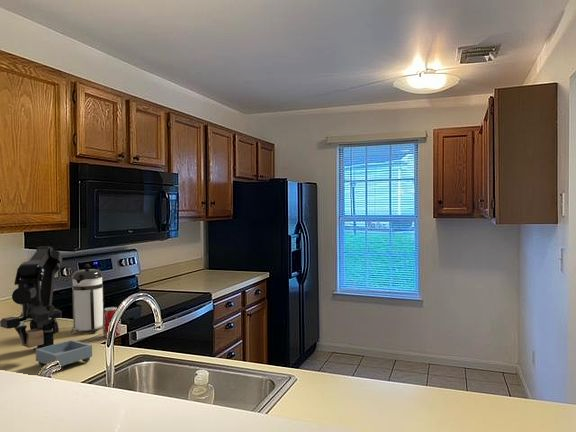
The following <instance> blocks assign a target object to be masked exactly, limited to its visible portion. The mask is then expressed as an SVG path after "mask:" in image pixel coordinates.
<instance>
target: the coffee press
mask: <svg viewBox="0 0 576 432" xmlns="http://www.w3.org/2000/svg"><path fill="white" fill-rule="evenodd" d="M83 267H84V269H79V270H76V271H75V272H73V274H72V276H71V280H72V285H71V286H72V287H71V289H72V323H73V325H72V329H71V330H70V333H71V334H72V335H75V334H76V333H77V332H78V331H80V332H84V331H85V332H86V331H90V334H91V335H96V330H97V329H100V328H103V312H104V309H105V293H104V292H105V290H104V289H105V288H104V284H103V283H104V282H103V277H104V274H102V271H101V270H100V269H96V268H90V267H91V265H90V264H89V263H85V265H84V266H83ZM74 329H75V330H74ZM73 331H74V332H73Z"/></svg>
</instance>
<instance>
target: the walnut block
mask: <svg viewBox="0 0 576 432" xmlns="http://www.w3.org/2000/svg"><path fill="white" fill-rule="evenodd" d="M42 344H44V340H43V330H40V329H31V330H30V329H28V330H26V344H24V343H23V341H22V340H21V346H22V347H25V348H28V349H29V348H36V347H37V346H38V345H42Z"/></svg>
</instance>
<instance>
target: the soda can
mask: <svg viewBox="0 0 576 432" xmlns="http://www.w3.org/2000/svg"><path fill="white" fill-rule="evenodd" d="M117 307H118V306H110V307H109V306H108V307H104V309H103V325H102V333H103V337H105V338H106V339H108V338H107V332H108V326H109V323H110V320H111V318H112V316H113V314H114V312H115V311H116V309H117ZM121 331H122V319H120V321H119V323H118V327H117V330H116V336H115V338H117V337H119V336H120V335H121Z"/></svg>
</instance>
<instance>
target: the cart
mask: <svg viewBox="0 0 576 432" xmlns="http://www.w3.org/2000/svg"><path fill="white" fill-rule="evenodd" d="M92 357H93V345H92V344H89V343H86V342H82V341H78V340H74V339H69V340H65V341H62V342H58V343H57V342H56V343H54V345H50V346H46V347H43V348H39V349H36V350H35V361H36V362H38V365H39V366H42V367H43V365H44V366H45V365H47V363H49V362H51V361H54V360H58V361H59V363H60V365H61V369H60V370H58V371H57V372H61V370H62V369H63V367H64V366H66V365H70V364H73V363H76V362H79V361H82V362H83V363H88V362H89V361H90V359H91V358H92Z"/></svg>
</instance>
